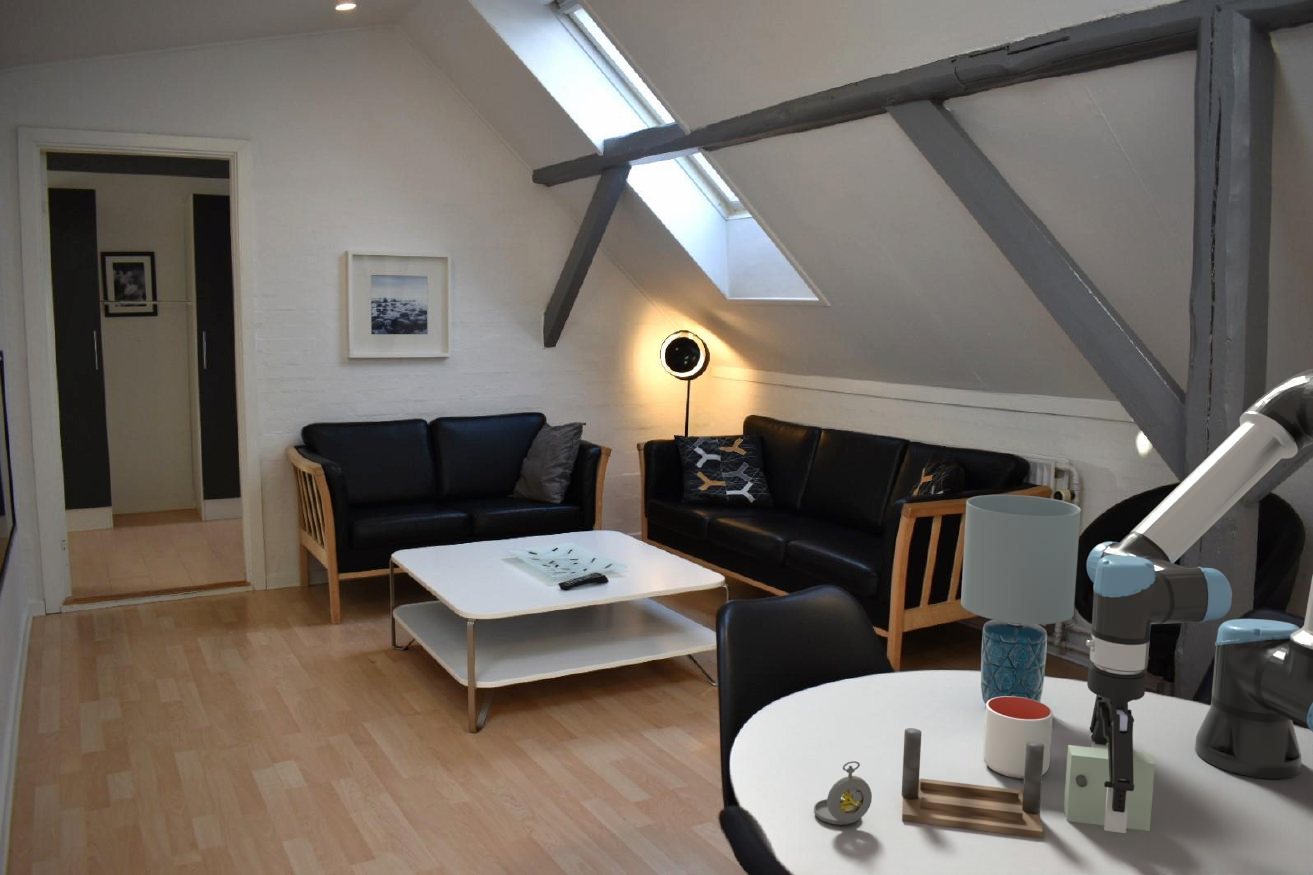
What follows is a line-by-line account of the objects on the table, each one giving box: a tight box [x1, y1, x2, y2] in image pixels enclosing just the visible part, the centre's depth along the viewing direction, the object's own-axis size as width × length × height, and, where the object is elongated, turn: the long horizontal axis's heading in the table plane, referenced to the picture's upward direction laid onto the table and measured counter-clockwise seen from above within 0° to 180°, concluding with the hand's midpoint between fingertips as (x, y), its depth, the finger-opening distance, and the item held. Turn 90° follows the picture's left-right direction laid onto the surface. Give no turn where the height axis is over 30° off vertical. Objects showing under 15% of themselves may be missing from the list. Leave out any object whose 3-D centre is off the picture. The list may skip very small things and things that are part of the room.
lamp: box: [960, 494, 1082, 705], centre depth 192 cm, size 19×19×38 cm
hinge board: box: [901, 727, 1044, 839], centre depth 155 cm, size 19×12×11 cm, turn 76°
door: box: [1063, 744, 1156, 832], centre depth 152 cm, size 11×4×10 cm, turn 76°
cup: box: [982, 696, 1054, 780], centre depth 169 cm, size 10×10×10 cm
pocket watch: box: [813, 760, 873, 826], centre depth 151 cm, size 8×8×10 cm
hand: (1106, 807), depth 153 cm, fingers open, 13 cm apart
